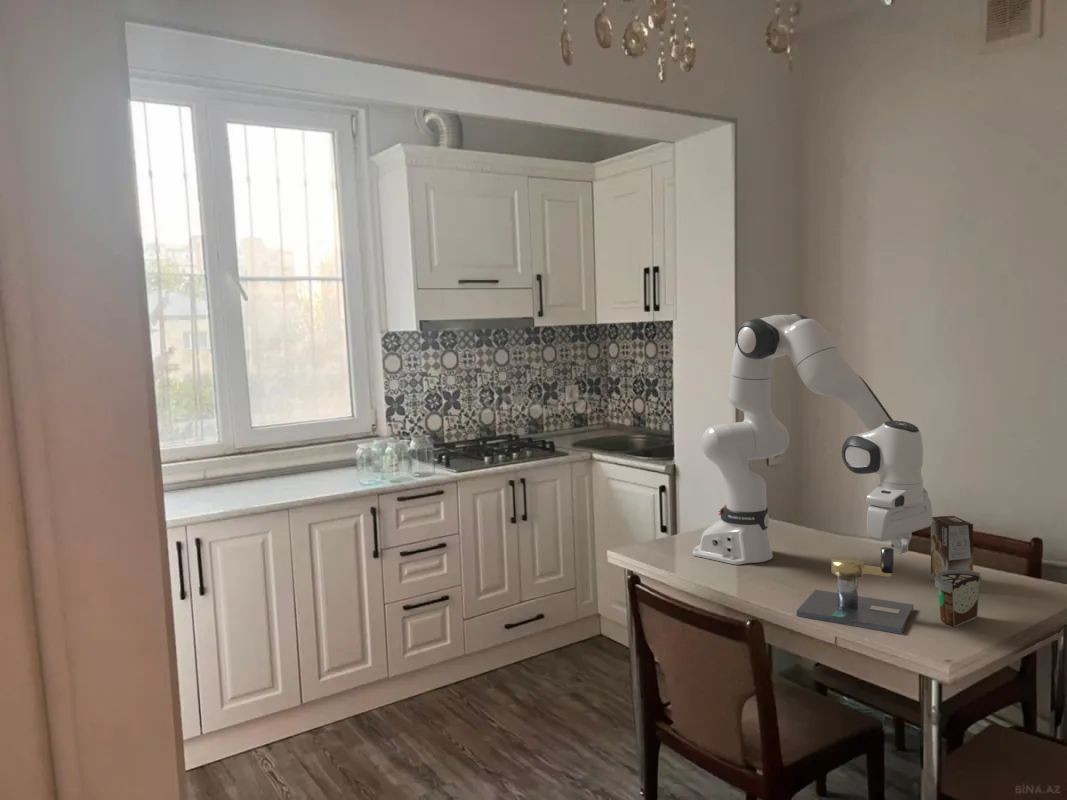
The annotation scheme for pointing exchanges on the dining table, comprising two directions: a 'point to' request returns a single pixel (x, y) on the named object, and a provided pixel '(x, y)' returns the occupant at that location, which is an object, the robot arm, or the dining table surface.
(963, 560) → the coffee box
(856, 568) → the brass crank knob
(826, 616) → the labelled display base
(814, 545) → the dining table surface
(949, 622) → the food container
